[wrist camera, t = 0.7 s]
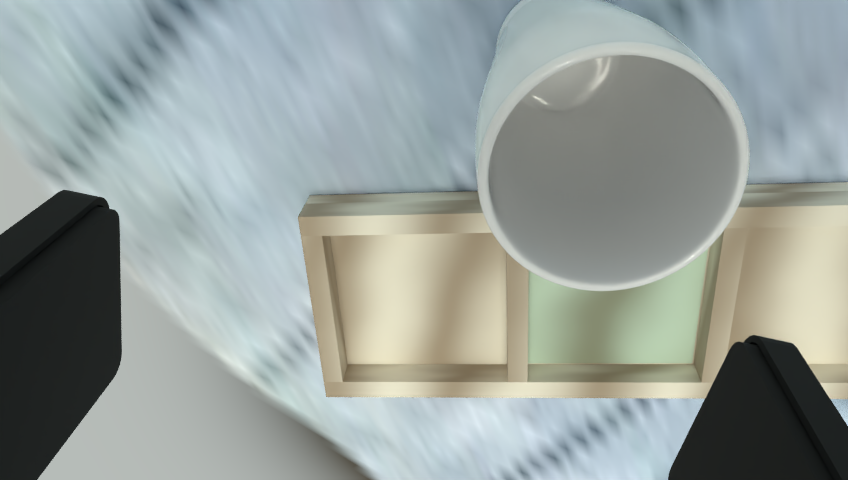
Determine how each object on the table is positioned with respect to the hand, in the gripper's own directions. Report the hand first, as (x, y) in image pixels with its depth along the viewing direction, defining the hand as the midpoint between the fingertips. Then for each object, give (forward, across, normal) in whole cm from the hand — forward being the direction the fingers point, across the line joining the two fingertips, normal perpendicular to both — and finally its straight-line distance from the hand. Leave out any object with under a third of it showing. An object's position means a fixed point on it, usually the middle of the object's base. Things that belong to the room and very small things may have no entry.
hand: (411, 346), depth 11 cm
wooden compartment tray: (+23, -10, +10) cm, 27 cm away
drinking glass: (+23, -4, 0) cm, 23 cm away
